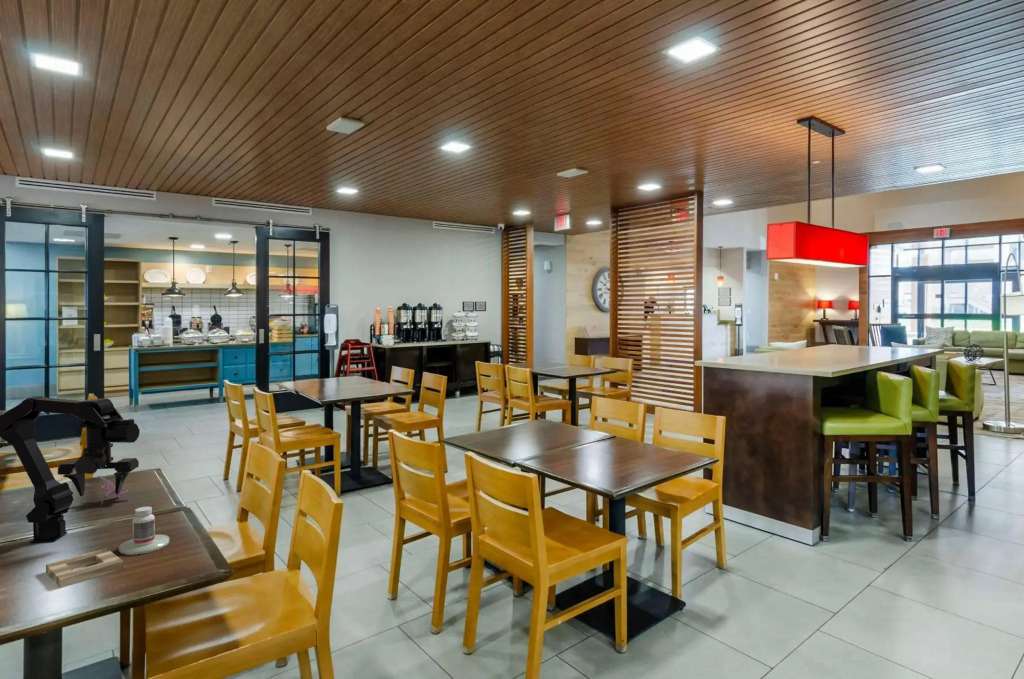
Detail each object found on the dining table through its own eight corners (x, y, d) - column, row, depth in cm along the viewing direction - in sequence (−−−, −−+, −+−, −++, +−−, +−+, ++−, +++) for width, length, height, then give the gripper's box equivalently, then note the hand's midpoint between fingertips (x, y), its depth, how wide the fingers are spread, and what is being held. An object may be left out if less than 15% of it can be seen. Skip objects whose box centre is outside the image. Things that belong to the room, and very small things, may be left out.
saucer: (110, 556, 151) (109, 553, 151) (131, 539, 162) (131, 535, 162) (158, 553, 153) (158, 549, 153) (176, 536, 165) (176, 533, 165)
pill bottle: (159, 541, 159) (158, 507, 158) (139, 547, 154) (138, 513, 154) (148, 537, 161) (147, 504, 161) (128, 544, 157) (127, 510, 156)
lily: (127, 509, 191) (138, 481, 195) (87, 502, 184) (100, 473, 189) (121, 511, 199) (131, 484, 204) (82, 504, 193) (94, 477, 197)
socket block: (46, 572, 141) (45, 564, 141) (106, 555, 151) (106, 548, 151) (60, 587, 133) (60, 579, 133) (123, 568, 143) (123, 561, 143)
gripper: (44, 450, 152) (46, 506, 152) (120, 447, 155) (121, 502, 156) (68, 441, 163) (70, 493, 163) (139, 438, 166) (140, 490, 167)
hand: (99, 495), depth 162 cm, fingers open, 9 cm apart
